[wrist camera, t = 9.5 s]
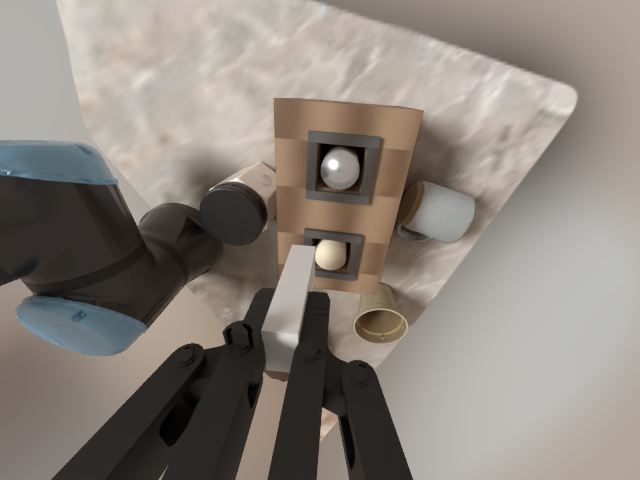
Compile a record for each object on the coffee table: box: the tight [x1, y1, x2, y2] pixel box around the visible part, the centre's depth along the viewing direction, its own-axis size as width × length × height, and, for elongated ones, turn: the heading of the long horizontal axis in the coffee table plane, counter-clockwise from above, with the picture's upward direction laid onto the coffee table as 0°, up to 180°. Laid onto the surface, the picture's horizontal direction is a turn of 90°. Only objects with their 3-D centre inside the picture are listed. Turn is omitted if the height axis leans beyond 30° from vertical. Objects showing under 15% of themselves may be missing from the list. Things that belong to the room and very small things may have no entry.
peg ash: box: [315, 239, 347, 270], centre depth 35 cm, size 4×4×11 cm
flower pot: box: [353, 283, 408, 345], centre depth 46 cm, size 9×9×9 cm
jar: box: [200, 162, 277, 246], centre depth 35 cm, size 9×8×12 cm
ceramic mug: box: [397, 181, 476, 244], centre depth 36 cm, size 11×8×8 cm
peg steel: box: [321, 144, 359, 190], centre depth 29 cm, size 4×4×11 cm
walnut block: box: [274, 98, 424, 295], centre depth 33 cm, size 14×23×13 cm, turn 176°
